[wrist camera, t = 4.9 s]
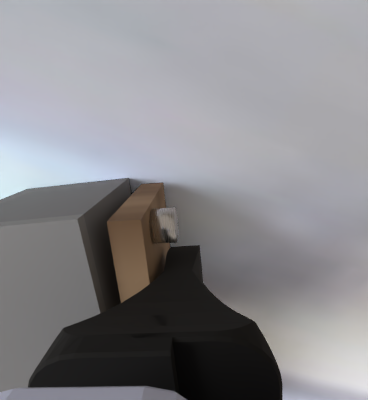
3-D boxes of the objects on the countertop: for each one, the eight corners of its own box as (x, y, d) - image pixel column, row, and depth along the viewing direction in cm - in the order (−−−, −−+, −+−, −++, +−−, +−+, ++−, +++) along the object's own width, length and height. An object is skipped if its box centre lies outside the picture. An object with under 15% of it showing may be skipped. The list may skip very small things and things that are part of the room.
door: (198, 385, 15) (197, 494, 11) (167, 385, 16) (153, 493, 11) (181, 181, 12) (168, 218, 8) (141, 184, 12) (106, 221, 8)
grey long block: (164, 378, 16) (146, 503, 11) (82, 381, 16) (28, 502, 11) (128, 177, 13) (77, 219, 7) (27, 188, 13) (-88, 234, 8)
